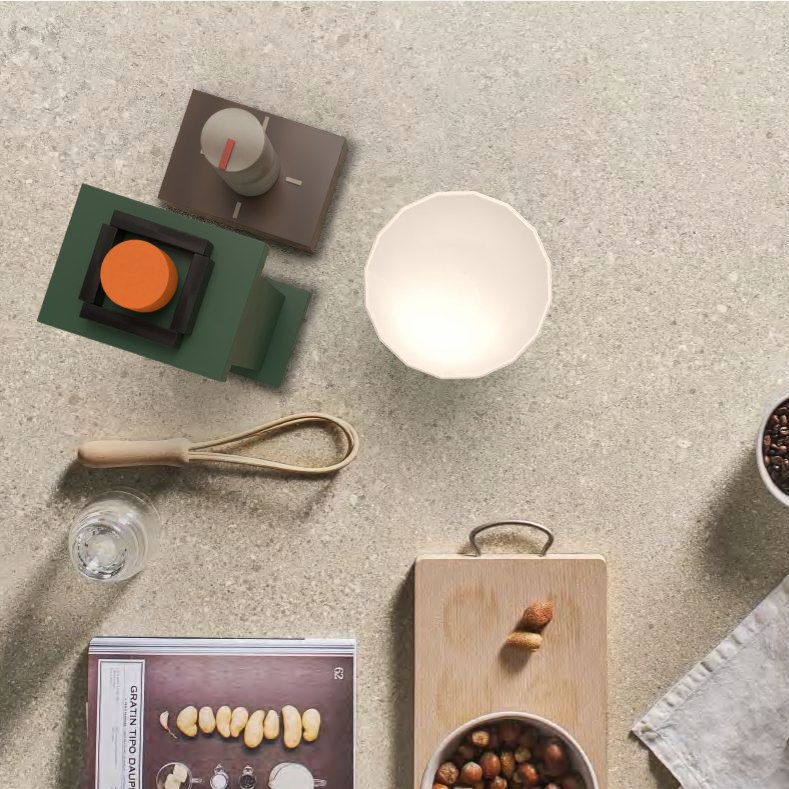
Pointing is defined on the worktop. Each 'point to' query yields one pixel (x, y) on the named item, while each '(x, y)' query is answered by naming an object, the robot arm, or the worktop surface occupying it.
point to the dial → (240, 151)
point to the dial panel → (282, 201)
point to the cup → (457, 284)
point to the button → (138, 276)
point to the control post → (177, 293)
